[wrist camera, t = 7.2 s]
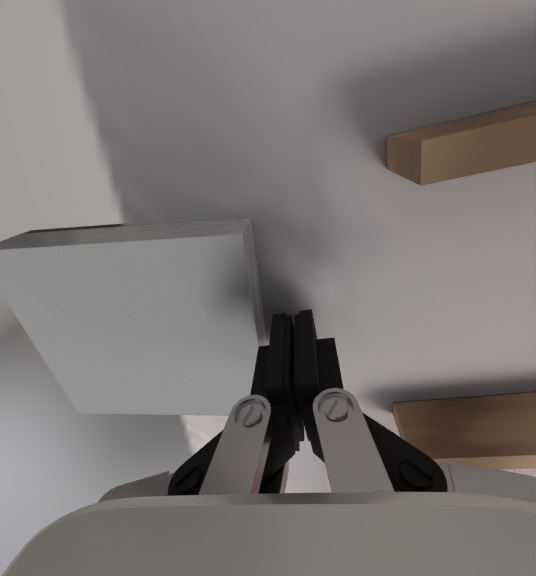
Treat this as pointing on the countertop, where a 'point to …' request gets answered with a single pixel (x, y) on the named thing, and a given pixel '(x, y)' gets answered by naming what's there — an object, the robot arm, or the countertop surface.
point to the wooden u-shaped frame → (485, 409)
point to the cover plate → (141, 313)
